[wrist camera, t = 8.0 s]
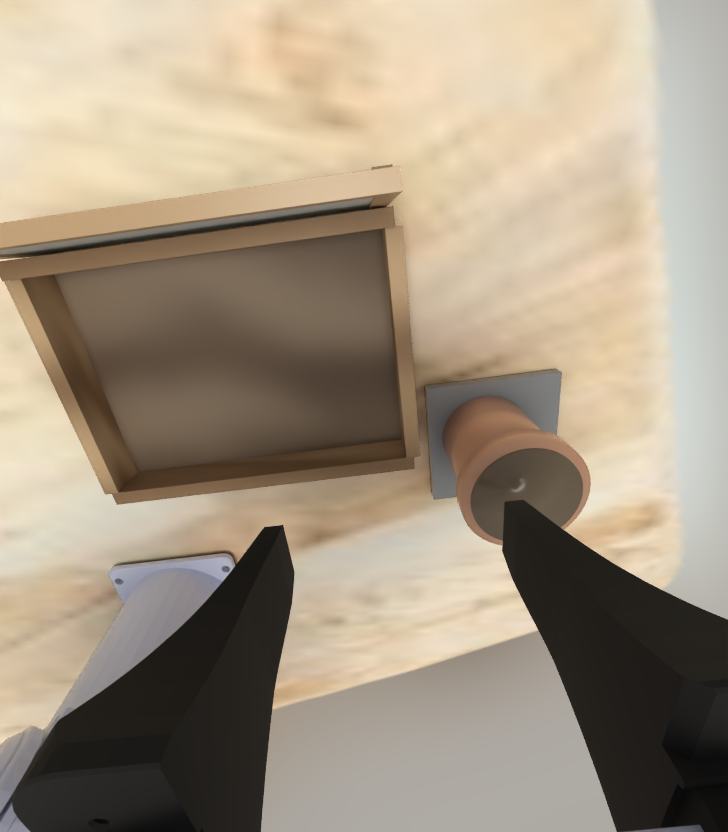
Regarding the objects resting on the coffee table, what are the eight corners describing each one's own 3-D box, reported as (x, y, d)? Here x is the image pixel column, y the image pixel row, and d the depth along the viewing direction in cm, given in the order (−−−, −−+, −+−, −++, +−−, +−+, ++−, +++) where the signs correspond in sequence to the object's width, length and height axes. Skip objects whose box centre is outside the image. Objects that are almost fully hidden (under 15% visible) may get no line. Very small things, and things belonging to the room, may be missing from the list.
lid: (383, 209, 18) (402, 191, 11) (49, 256, 18) (-134, 267, 11) (382, 194, 17) (400, 165, 11) (43, 241, 18) (-148, 244, 11)
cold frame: (414, 444, 23) (435, 516, 17) (134, 478, 23) (60, 560, 17) (392, 187, 17) (412, 161, 12) (30, 238, 18) (-126, 238, 12)
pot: (534, 467, 23) (590, 538, 17) (441, 483, 23) (468, 558, 18) (532, 379, 21) (596, 429, 15) (429, 399, 21) (455, 455, 16)
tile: (547, 479, 24) (552, 485, 23) (431, 493, 24) (433, 499, 24) (556, 368, 21) (561, 372, 20) (424, 385, 21) (426, 389, 21)
